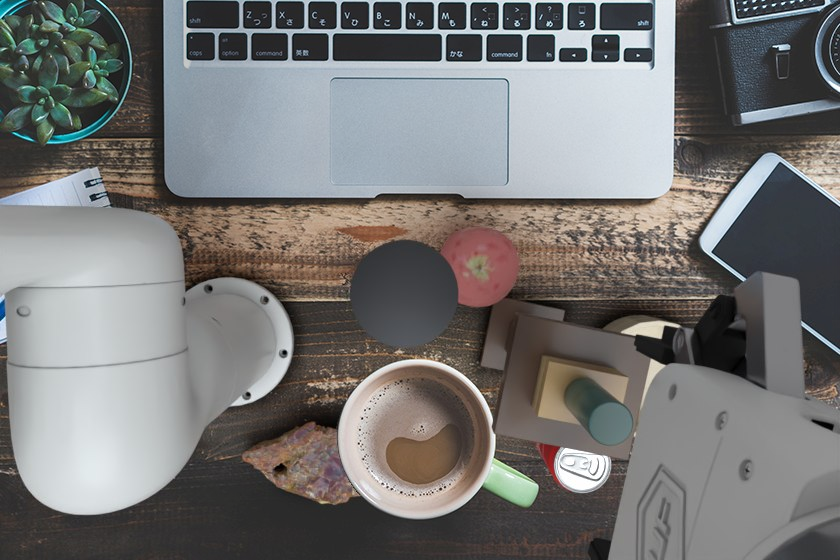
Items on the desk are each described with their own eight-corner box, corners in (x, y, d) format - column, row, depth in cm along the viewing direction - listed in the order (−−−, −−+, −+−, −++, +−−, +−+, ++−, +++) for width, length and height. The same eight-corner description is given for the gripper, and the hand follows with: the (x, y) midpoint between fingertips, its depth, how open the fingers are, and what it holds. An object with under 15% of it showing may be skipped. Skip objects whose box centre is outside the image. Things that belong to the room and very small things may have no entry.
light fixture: (392, 317, 67) (376, 365, 42) (364, 255, 66) (332, 266, 42) (454, 290, 67) (475, 322, 42) (427, 228, 66) (432, 222, 41)
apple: (428, 292, 67) (429, 300, 59) (446, 219, 66) (449, 217, 58) (501, 310, 67) (512, 320, 59) (519, 237, 66) (533, 237, 58)
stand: (468, 367, 67) (493, 434, 44) (484, 288, 67) (518, 314, 44) (557, 385, 67) (628, 460, 44) (574, 306, 67) (655, 341, 44)
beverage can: (573, 455, 68) (606, 501, 56) (523, 445, 68) (545, 489, 56) (585, 404, 67) (620, 440, 55) (534, 394, 67) (558, 428, 55)
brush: (530, 406, 44) (557, 446, 36) (541, 354, 44) (571, 382, 35) (606, 421, 44) (650, 465, 36) (617, 369, 44) (664, 400, 35)
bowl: (572, 413, 67) (584, 427, 62) (595, 305, 67) (609, 310, 62) (680, 434, 68) (700, 450, 63) (704, 326, 67) (727, 334, 62)
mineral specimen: (276, 391, 62) (276, 394, 69) (231, 468, 60) (236, 463, 67) (389, 453, 63) (379, 449, 70) (350, 530, 61) (343, 519, 68)
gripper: (828, 261, 14) (603, 248, 31) (641, 1048, 15) (524, 612, 32) (1195, 334, 14) (766, 281, 31) (981, 1115, 15) (682, 643, 32)
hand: (643, 449), depth 31 cm, fingers open, 9 cm apart
